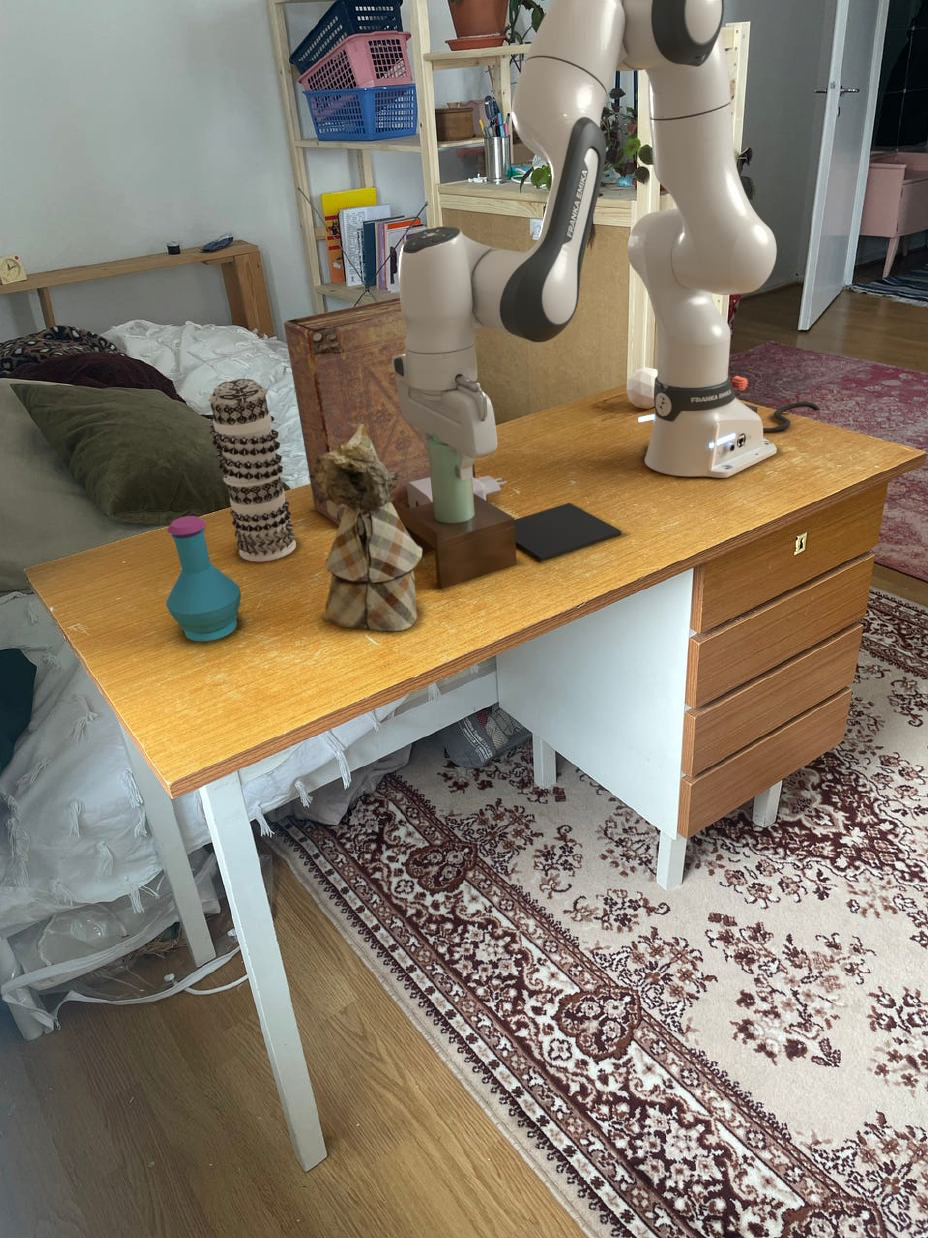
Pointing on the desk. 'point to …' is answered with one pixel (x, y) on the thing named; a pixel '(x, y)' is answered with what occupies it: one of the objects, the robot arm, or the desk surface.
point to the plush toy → (366, 541)
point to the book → (354, 390)
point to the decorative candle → (251, 470)
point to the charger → (422, 489)
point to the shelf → (463, 540)
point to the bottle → (448, 484)
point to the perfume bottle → (200, 586)
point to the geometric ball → (642, 387)
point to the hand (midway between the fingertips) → (450, 470)
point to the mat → (560, 531)
